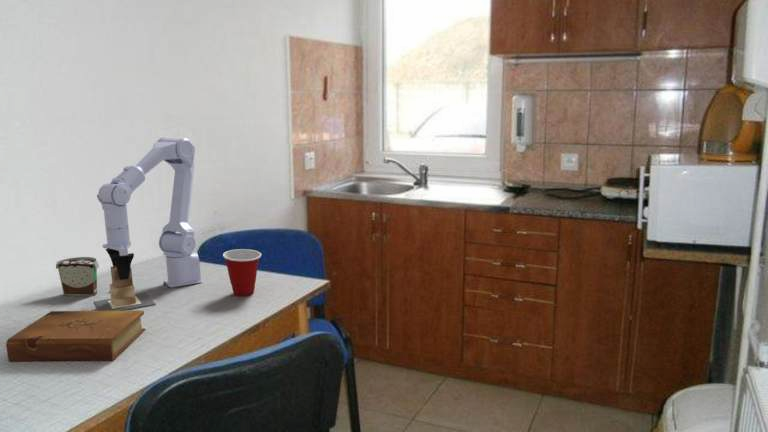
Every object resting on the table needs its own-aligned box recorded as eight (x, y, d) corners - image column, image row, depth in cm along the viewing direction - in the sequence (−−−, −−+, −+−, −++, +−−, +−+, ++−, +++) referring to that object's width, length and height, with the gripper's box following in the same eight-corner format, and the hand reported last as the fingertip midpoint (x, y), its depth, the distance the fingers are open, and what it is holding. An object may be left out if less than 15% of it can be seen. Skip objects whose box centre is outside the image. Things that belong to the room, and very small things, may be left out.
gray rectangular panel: (146, 293, 186) (146, 292, 186) (155, 304, 176) (155, 303, 176) (94, 302, 179) (94, 300, 179) (100, 314, 169) (100, 313, 169)
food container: (110, 289, 191) (106, 256, 189) (99, 295, 185) (95, 262, 183) (71, 288, 192) (67, 256, 190) (58, 294, 186) (54, 261, 184)
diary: (8, 365, 140) (5, 340, 138) (53, 333, 158) (50, 311, 157) (113, 363, 139) (110, 338, 138) (146, 331, 157) (143, 309, 156)
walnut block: (129, 281, 179) (127, 264, 178) (132, 285, 176) (131, 267, 175) (112, 284, 177) (110, 266, 176) (115, 288, 173) (113, 270, 172)
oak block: (132, 297, 181) (130, 280, 180) (135, 303, 176) (134, 285, 175) (111, 301, 178) (109, 284, 177) (114, 307, 173) (112, 289, 172)
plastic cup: (250, 301, 178) (247, 259, 175) (217, 296, 182) (214, 256, 179) (270, 289, 188) (268, 249, 185) (239, 285, 192) (237, 247, 189)
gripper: (97, 224, 177) (102, 271, 180) (105, 234, 165) (110, 284, 168) (124, 221, 181) (128, 267, 183) (134, 230, 168) (138, 280, 171)
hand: (121, 275), depth 176 cm, fingers open, 7 cm apart
